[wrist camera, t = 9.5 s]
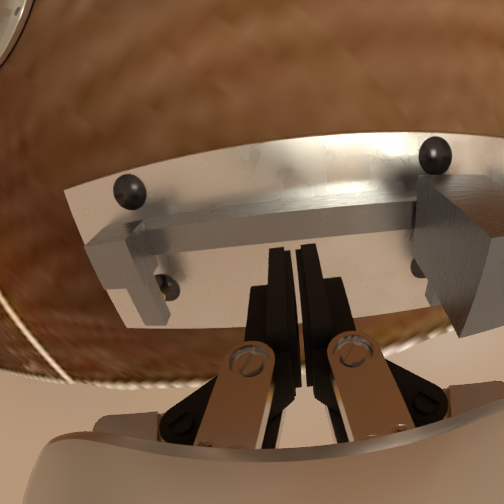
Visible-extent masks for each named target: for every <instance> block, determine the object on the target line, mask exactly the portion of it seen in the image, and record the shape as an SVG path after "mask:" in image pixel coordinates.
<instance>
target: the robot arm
mask: <svg viewBox="0 0 504 504" xmlns="http://www.w3.org/2000/svg"><path fill="white" fill-rule="evenodd" d="M32 2H33V0H0V65H1V64H2V63H3V61H4V60H5V59H6V57H7V56H8V54H9V53H10V51H11V50H12V48H13V46H14V44H15V43H16V41H17V39H18V37H19V35H20V33H21V31H22V29H23V27H24V24H25V22H26V19H27V17H28V14H29V11H30V8H31V5H32ZM295 253H296V262H297V272H298V282H299V292H300V303H301V314H302V326H303V338H304V351H305V365H306V379H307V387H309V386H313V391H314V396H315V398H316V399H317V400H319V401H321V402H322V403H323V404H325V409H326V413H327V417H328V421H329V424H330V428H331V432H332V436H333V440H334V444H331V445H324V446H314V447H301V448H283V449H278V447H279V442H280V437H281V432H282V427H283V422H284V417H285V408H286V407H287V406H288V405H289V404H290V403H291V402H292V401H293V400H294V399H295V398H294V396H296V391H295V390H296V388H297V387H302V384H301V363H300V345H299V329H298V315H297V304H296V294H295V285H294V276H293V268H292V260H291V252H290V250H286V251H285V250H284V247H277V248H269V258H268V285H258V286H251V288H250V295H249V304H248V313H247V322H246V331H245V340H244V342H243V343H239V344H237V345H236V346H234V347H232V348H231V349H230V350H229V351H228V352H227V354H226V356H225V357H224V360H223V363H222V365H221V368H220V371H219V374H218V375H217V376H216V377H215V378H213V379H212V380H210V381H209V382H208V383H206V384H205V385H203V386H202V387H201V388H199V389H198V390H196V391H195V392H194V393H192V394H191V395H189V396H188V397H186V398H185V399H184V400H182V401H181V402H179V403H178V404H176V405H175V406H173V407H172V408H170V409H169V410H168V411H167V412H166V413H163V414H159V413H158V412H147V413H136V414H121V415H107V416H103V417H102V418H100V419H99V420H98V421H97V422H96V423H95V425H94V428H93V432H86V431H84V432H74V433H68V434H64V435H60V436H58V437H56V438H53V439H52V440H50V441H49V442H48V443H47V444H46V445H45V446H44V448H43V449H42V451H41V453H40V455H39V456H38V458H37V461H36V463H35V465H34V468H33V470H32V473H31V475H30V478H29V481H28V485H27V488H26V491H25V494H24V498H23V502H22V504H504V382H502V381H492V382H483V383H474V384H464V385H453V386H452V385H451V386H449V387H448V388H447V389H441V388H440V387H438V386H437V385H435V384H433V383H431V382H429V381H427V380H425V379H423V378H421V377H419V376H417V375H415V374H414V373H412V372H410V371H408V370H406V369H404V368H402V367H400V366H398V365H396V364H394V363H392V362H390V361H388V360H387V359H385V358H384V356H383V354H382V352H381V350H380V348H379V346H378V344H377V342H376V341H375V340H374V338H373V337H371V336H370V335H368V334H366V333H364V332H361V331H356V329H355V325H354V321H353V317H352V313H351V309H350V306H349V302H348V298H347V295H346V291H345V288H344V284H343V281H342V278H341V276H340V277H332V278H323V274H322V270H321V265H320V260H319V256H318V252H317V247H316V243H312V244H303V245H301V249H295Z"/></svg>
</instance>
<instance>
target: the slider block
mask: <svg viewBox="0 0 504 504" xmlns="http://www.w3.org/2000/svg"><path fill="white" fill-rule="evenodd" d="M412 256H413V257H414V259H415V260H416V262H417V264H418V265H419V267H420V268H421V270H422V272H423V273H424V275H425V277H426V278H427V280H428V283H427V287H426V292H425V297H426V299H427V301H428V302H429V304H430V306H436V305H442V306H443V308H444V310H445V312H446V314H447V316H448V317H449V319H450V321H451V323H452V325H453V327H454V329H455V331H456V333H457V335H458V337H459V338H462V337H466V336H470V335H473V334H477V333H480V332H484V331H487V330H491V329H494V328H497V327H500V326H503V325H504V187H503V186H502V185H500V184H499V183H497V182H495V181H494V180H492V179H491V178H489V177H487V176H486V175H471V174H459V175H418V185H417V205H416V219H415V230H414V240H413V248H412Z"/></svg>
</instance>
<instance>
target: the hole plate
mask: <svg viewBox="0 0 504 504" xmlns="http://www.w3.org/2000/svg"><path fill="white" fill-rule="evenodd" d="M459 174H471V175H486V176H487V177H489V178H491V179H492V180H494V181H495V182H497V183H499V184H500V185H502V186H504V137H500V136H492V135H483V134H472V133H460V132H443V131H359V132H341V133H327V134H315V135H304V136H295V137H286V138H278V139H270V140H263V141H256V142H249V143H243V144H237V145H231V146H225V147H220V148H214V149H209V150H204V151H199V152H194V153H189V154H185V155H180V156H176V157H171V158H167V159H163V160H159V161H155V162H151V163H147V164H143V165H139V166H136V167H132V168H128V169H125V170H121V171H118V172H114V173H111V174H108V175H104V176H101V177H98V178H95V179H92V180H88V181H85V182H82V183H79V184H76V185H74V186H71V187H69V188H67V189H65V190H64V193H65V196H66V199H67V201H68V204H69V207H70V209H71V212H72V215H73V217H74V220H75V222H76V225H77V227H78V230H79V232H80V235H81V237H82V239H83V242H84V244H85V245H86V244H87V243H88V242H89V241H90V240H91V239H92V238H93V237H94V236H95V235H96V234H97V233H98V232H99V231H100V230H101V229H102V228H104V227H106V226H110V225H115V224H120V223H126V222H131V221H137V220H142V219H148V218H154V217H160V216H166V215H172V214H178V213H184V212H191V211H197V210H204V209H211V208H218V207H225V206H232V205H239V204H247V203H255V202H263V201H271V200H280V199H289V198H298V197H308V196H318V195H328V194H339V193H351V192H364V191H377V190H392V189H410V188H417V185H418V175H459ZM414 230H415V229H406V230H396V231H385V232H375V233H364V234H354V235H344V236H334V237H324V238H314V239H304V240H294V241H284V242H274V243H264V244H255V245H245V246H236V247H226V248H217V249H207V250H198V251H189V252H180V253H170V254H161V255H156V258H157V260H158V263H159V265H158V267H157V268H156V270H155V272H154V273H153V274H154V276H155V279H156V281H157V283H158V286H159V285H161V284H165V285H167V286H168V287H169V293H168V295H167V297H166V299H165V302H166V304H167V306H168V309H169V311H170V313H171V316H170V318H169V320H168V323H167V325H166V326H145V324H144V323H143V321H142V319H141V317H140V315H139V313H138V311H137V309H136V307H135V305H134V303H133V301H132V299H131V297H130V295H129V293H128V291H127V289H109V290H106V291H107V292H108V294H109V296H110V298H111V300H112V302H113V304H114V306H115V308H116V309H117V311H118V313H119V315H120V317H121V318H122V320H123V322H124V324H125V325H126V327H127V328H228V327H246V322H247V313H248V304H249V295H250V288H251V286H258V285H268V258H269V248H277V247H284V250H285V251H286V250H290V252H291V260H292V268H293V276H294V285H295V294H296V304H297V315H298V323H302V314H301V303H300V292H299V282H298V272H297V262H296V253H295V249H301V245H303V244H312V243H316V247H317V252H318V256H319V260H320V265H321V270H322V274H323V278H332V277H340V276H341V278H342V281H343V284H344V288H345V291H346V295H347V298H348V302H349V306H350V309H351V313H352V317H353V318H356V317H364V316H371V315H379V314H386V313H393V312H399V311H406V310H412V309H418V308H424V307H429V306H430V304H429V302H428V301H427V299H426V297H425V292H426V287H427V283H428V280H427V278H426V277H425V275H424V273H423V272H422V270H421V268H420V267H419V265H418V264H417V262H416V260H415V259H414V257H413V256H412V248H413V240H414Z"/></svg>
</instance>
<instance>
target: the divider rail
mask: <svg viewBox="0 0 504 504" xmlns="http://www.w3.org/2000/svg"><path fill="white" fill-rule="evenodd" d="M503 187H504V186H503ZM416 205H417V188H410V189H392V190H377V191H364V192H351V193H339V194H328V195H318V196H308V197H298V198H289V199H280V200H271V201H263V202H255V203H247V204H239V205H232V206H225V207H218V208H211V209H204V210H197V211H191V212H184V213H178V214H172V215H166V216H160V217H154V218H148V219H142V220H137V221H131V222H126V223H120V224H115V225H110V226H106V227H104V228H102V229H101V230H100V231H99V232H98V233H97V234H96V235H95V236H94V237H93V238H92V239H91V240H90V241H89V242H88V243H87V244H86V245H85V246H84V248H85V251H86V253H87V255H88V257H89V259H90V262H91V264H92V266H93V268H94V270H95V272H96V274H97V276H98V278H99V280H100V282H101V284H102V286H103V288H104V290H109V289H127V291H128V293H129V295H130V297H131V299H132V301H133V303H134V305H135V307H136V309H137V311H138V313H139V315H140V317H141V319H142V321H143V323H144V324H145V326H166V325H167V323H168V320H169V318H170V316H171V313H170V311H169V309H168V306H167V304H166V302H165V299H166V297H167V295H168V293H169V287H168V286H167V285H165V284H161V285H159V286H158V283H157V281H156V279H155V276H154V274H153V273H154V272H155V270H156V268H157V267H158V265H159V263H158V260H157V258H156V255H161V254H170V253H180V252H189V251H198V250H207V249H217V248H226V247H236V246H245V245H255V244H264V243H274V242H284V241H294V240H304V239H314V238H324V237H334V236H344V235H354V234H364V233H375V232H385V231H396V230H406V229H415V219H416Z"/></svg>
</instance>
